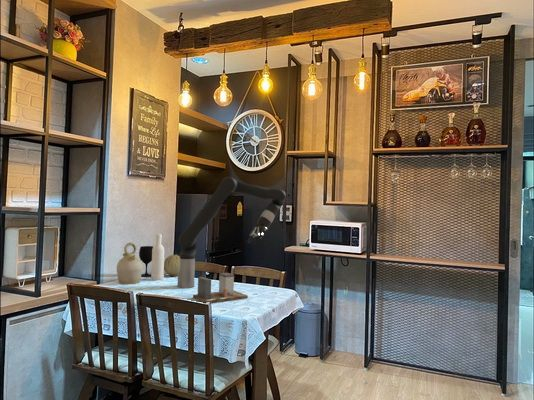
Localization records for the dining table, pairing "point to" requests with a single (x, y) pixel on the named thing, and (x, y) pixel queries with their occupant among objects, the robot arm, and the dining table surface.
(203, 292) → the dark gray block
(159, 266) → the bottle
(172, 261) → the cantaloupe
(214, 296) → the base
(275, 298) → the dining table surface
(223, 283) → the grey block
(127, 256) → the jug
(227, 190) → the robot arm
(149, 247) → the wine glass
